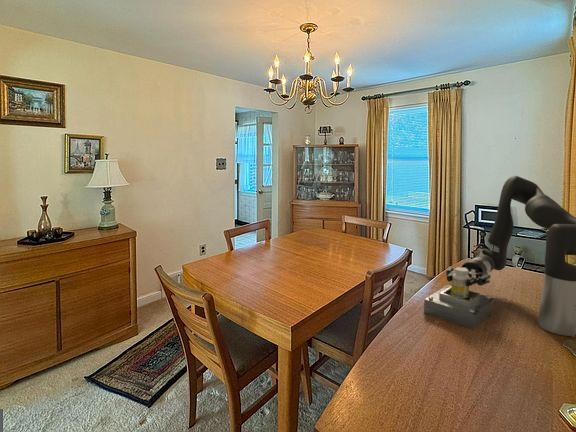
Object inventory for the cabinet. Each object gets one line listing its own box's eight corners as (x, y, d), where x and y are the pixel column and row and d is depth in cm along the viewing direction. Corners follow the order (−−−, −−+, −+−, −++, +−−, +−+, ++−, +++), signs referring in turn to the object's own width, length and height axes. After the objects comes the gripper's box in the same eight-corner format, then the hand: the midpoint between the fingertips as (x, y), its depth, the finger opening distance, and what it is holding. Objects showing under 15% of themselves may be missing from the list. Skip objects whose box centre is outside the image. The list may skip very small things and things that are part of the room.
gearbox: (492, 311, 111) (494, 292, 110) (473, 330, 99) (475, 309, 98) (445, 297, 123) (446, 280, 121) (423, 312, 111) (424, 293, 110)
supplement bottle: (456, 299, 107) (458, 272, 105) (447, 292, 112) (449, 267, 111) (471, 298, 108) (474, 271, 106) (461, 291, 113) (463, 266, 111)
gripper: (456, 255, 123) (437, 265, 112) (499, 263, 112) (482, 276, 101) (455, 273, 124) (435, 285, 113) (497, 283, 113) (480, 298, 103)
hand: (457, 281), depth 107 cm, fingers closed on supplement bottle, 5 cm apart
